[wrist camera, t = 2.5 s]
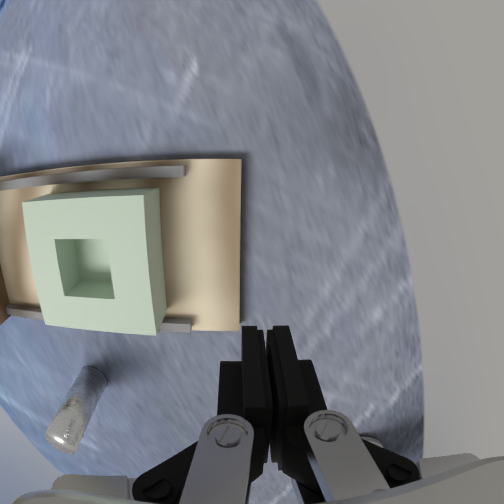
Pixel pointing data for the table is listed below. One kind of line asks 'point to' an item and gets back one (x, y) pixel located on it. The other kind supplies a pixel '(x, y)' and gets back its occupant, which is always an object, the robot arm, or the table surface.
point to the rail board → (172, 233)
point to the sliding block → (98, 259)
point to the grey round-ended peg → (76, 410)
